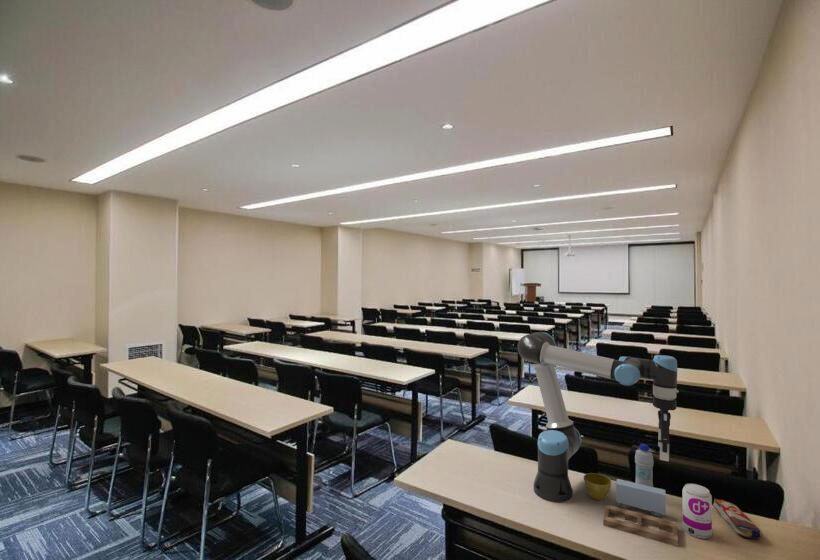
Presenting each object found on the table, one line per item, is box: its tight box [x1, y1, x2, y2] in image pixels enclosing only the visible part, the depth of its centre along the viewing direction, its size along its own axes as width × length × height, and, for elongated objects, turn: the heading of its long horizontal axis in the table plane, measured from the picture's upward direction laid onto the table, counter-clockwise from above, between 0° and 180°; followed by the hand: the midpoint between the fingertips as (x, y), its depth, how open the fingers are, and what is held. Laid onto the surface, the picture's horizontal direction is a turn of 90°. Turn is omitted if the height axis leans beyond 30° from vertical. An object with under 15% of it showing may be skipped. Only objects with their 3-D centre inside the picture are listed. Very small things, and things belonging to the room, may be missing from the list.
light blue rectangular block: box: [615, 478, 667, 518], centre depth 150 cm, size 16×4×9 cm, turn 59°
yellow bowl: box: [583, 472, 612, 501], centre depth 160 cm, size 10×10×7 cm
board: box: [602, 504, 679, 547], centre depth 140 cm, size 22×11×2 cm, turn 59°
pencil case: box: [712, 498, 762, 539], centre depth 142 cm, size 11×20×5 cm, turn 151°
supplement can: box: [681, 483, 713, 540], centre depth 137 cm, size 8×8×15 cm
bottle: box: [634, 443, 654, 487], centre depth 163 cm, size 7×7×20 cm
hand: (663, 453), depth 150 cm, fingers open, 13 cm apart
